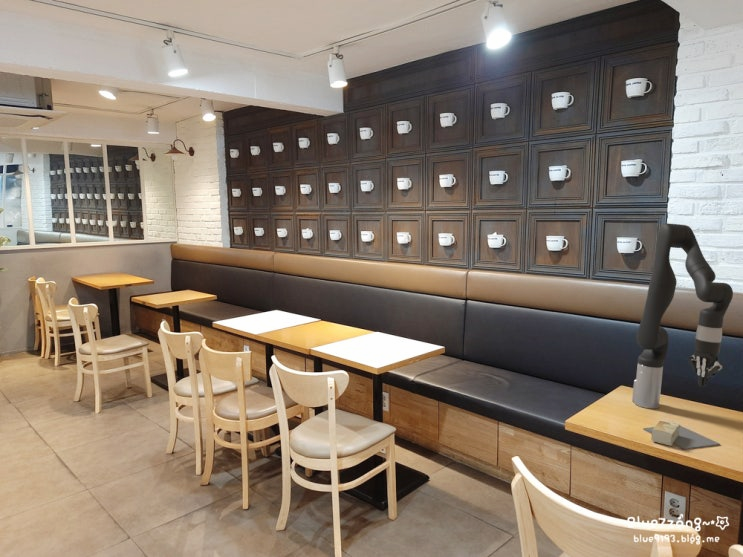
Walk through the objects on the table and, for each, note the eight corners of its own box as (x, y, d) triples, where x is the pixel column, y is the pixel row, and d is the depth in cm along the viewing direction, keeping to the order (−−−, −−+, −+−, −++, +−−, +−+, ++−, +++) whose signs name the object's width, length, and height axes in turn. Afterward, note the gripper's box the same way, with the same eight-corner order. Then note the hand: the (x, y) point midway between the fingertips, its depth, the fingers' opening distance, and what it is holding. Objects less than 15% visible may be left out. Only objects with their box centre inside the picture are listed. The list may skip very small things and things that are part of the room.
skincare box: (680, 423, 180) (673, 434, 171) (678, 435, 181) (672, 446, 172) (659, 418, 185) (652, 428, 175) (658, 430, 185) (651, 440, 176)
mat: (643, 429, 187) (643, 428, 187) (677, 425, 191) (677, 424, 191) (683, 449, 170) (683, 448, 170) (720, 445, 175) (720, 443, 175)
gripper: (734, 343, 174) (727, 392, 176) (700, 333, 186) (694, 379, 189) (717, 344, 172) (710, 393, 174) (683, 334, 184) (677, 380, 187)
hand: (701, 386), depth 181 cm, fingers closed
